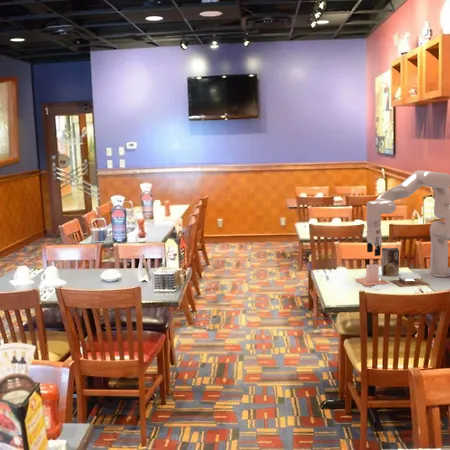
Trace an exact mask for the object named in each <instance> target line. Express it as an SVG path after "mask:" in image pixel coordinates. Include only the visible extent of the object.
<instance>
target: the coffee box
mask: <svg viewBox="0 0 450 450" xmlns="http://www.w3.org/2000/svg"><path fill="white" fill-rule="evenodd" d="M381 271H382V275H381V276H383V277H399V276H400V249H399V248H398V247H381Z"/></svg>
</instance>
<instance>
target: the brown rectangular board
mask: <svg viewBox="0 0 450 450" xmlns="http://www.w3.org/2000/svg"><path fill="white" fill-rule="evenodd" d="M405 279H406V278H401V277H398V279H394V280H393V279H391V280H388V283H391V284H393V285H395V286H397V287H399V288H410V287H419V286H420V287H421V286H431V284H430V283H428V282H426V281H424V280H422V279H419V278H418V277H417V278H414V280H415V281H405Z"/></svg>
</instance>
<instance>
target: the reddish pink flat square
mask: <svg viewBox="0 0 450 450" xmlns="http://www.w3.org/2000/svg"><path fill="white" fill-rule="evenodd" d="M354 280H355V281H356V282H357V283H359V284H360V285H362V286H364V287H365V288H369V287H376V286H377V285H389V284H390V283H391V282H389V281H386V280H385V279H383V278H381V280H380V281H375V282H368V281H366V277H362V278H361V277H360V278H359V277H358V278H355V279H354Z"/></svg>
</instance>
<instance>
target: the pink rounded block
mask: <svg viewBox="0 0 450 450" xmlns="http://www.w3.org/2000/svg"><path fill="white" fill-rule="evenodd" d="M365 268H366V274H365V275H366V276H365V278H366V281H368V282H375V281H379V278H380V277H379V276H380V273H379V272H380V271H379V270H380V269H379V268H380V266H379V264H376V263H375V264H366V267H365Z"/></svg>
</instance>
